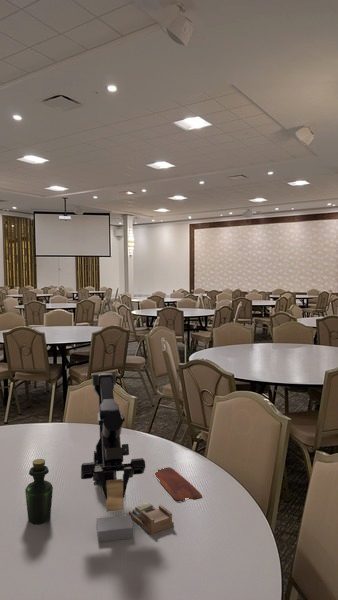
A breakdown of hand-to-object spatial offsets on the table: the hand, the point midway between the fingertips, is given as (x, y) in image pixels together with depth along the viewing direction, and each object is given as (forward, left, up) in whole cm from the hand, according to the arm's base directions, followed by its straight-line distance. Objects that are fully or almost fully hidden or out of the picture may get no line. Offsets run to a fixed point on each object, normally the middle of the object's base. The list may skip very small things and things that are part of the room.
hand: (115, 498), depth 129 cm
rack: (+8, +10, -11) cm, 17 cm away
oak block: (-1, +1, -4) cm, 4 cm away
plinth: (-1, +1, -11) cm, 11 cm away
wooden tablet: (+8, +37, -12) cm, 39 cm away
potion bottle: (-26, +2, -11) cm, 28 cm away
